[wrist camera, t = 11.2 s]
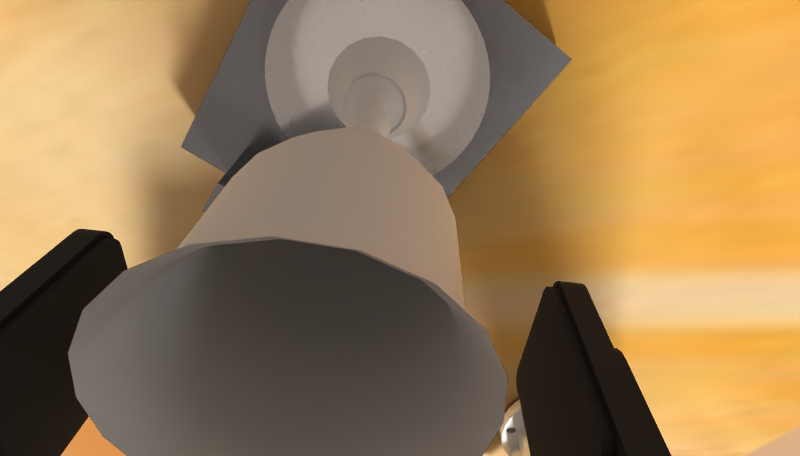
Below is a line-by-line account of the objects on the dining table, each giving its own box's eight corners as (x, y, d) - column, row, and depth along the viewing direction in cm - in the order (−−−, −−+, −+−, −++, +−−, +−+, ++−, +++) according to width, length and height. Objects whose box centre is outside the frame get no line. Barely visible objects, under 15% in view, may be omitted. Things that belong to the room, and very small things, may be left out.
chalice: (404, -20, 20) (341, 133, 5) (477, 109, 23) (577, 452, 8) (277, 72, 23) (-24, 363, 7) (358, 179, 25) (261, 543, 10)
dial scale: (384, 245, 33) (375, 320, 27) (199, 134, 29) (137, 191, 23) (557, 46, 25) (600, 85, 19) (336, -144, 21) (299, -173, 15)
